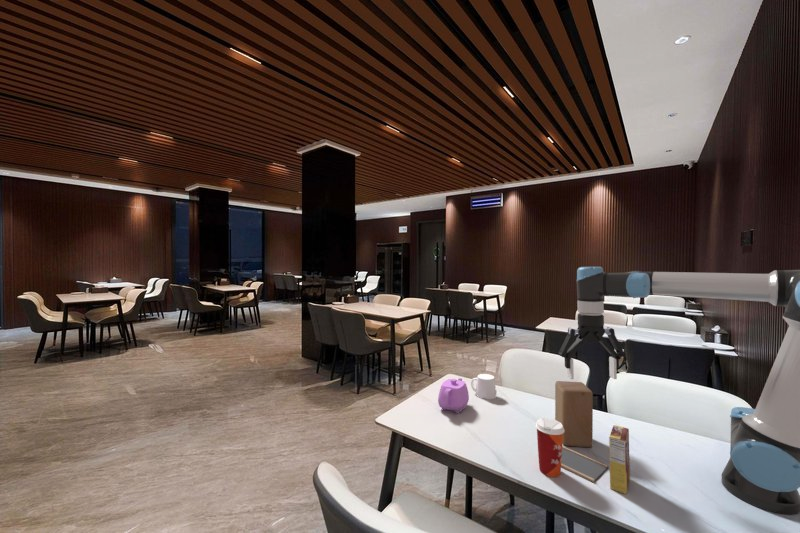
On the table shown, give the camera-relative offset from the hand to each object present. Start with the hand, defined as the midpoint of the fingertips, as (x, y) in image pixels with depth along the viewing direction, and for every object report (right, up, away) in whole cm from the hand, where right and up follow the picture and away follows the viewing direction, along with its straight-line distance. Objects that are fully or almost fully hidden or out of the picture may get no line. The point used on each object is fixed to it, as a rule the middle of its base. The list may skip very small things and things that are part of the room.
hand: (591, 378), depth 110 cm
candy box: (+1, -27, -12) cm, 30 cm away
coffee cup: (-16, -27, -6) cm, 32 cm away
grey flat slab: (-7, -27, -2) cm, 28 cm away
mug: (-23, -26, +52) cm, 62 cm away
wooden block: (0, -27, +12) cm, 29 cm away
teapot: (-39, -26, +39) cm, 61 cm away
